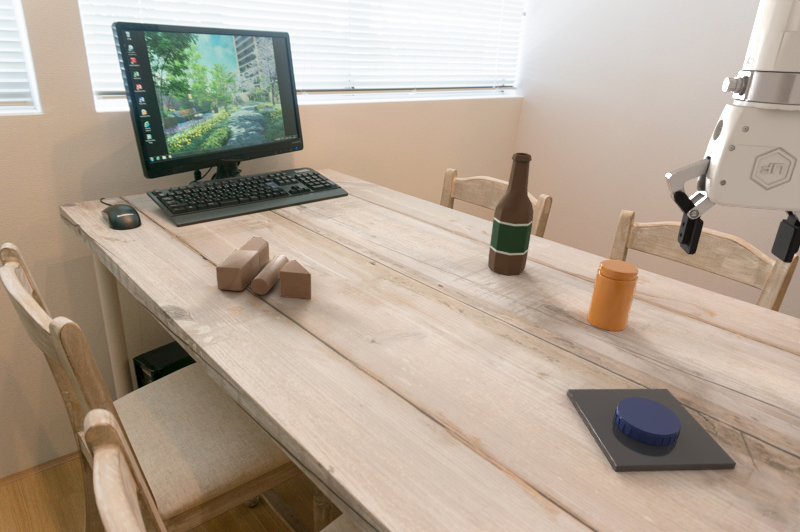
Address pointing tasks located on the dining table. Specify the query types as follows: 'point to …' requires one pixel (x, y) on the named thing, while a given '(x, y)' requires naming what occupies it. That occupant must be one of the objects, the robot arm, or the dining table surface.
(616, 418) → the jar lid
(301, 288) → the wooden block set
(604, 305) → the honey jar
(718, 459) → the slate coaster
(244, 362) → the dining table surface
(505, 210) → the beer bottle
